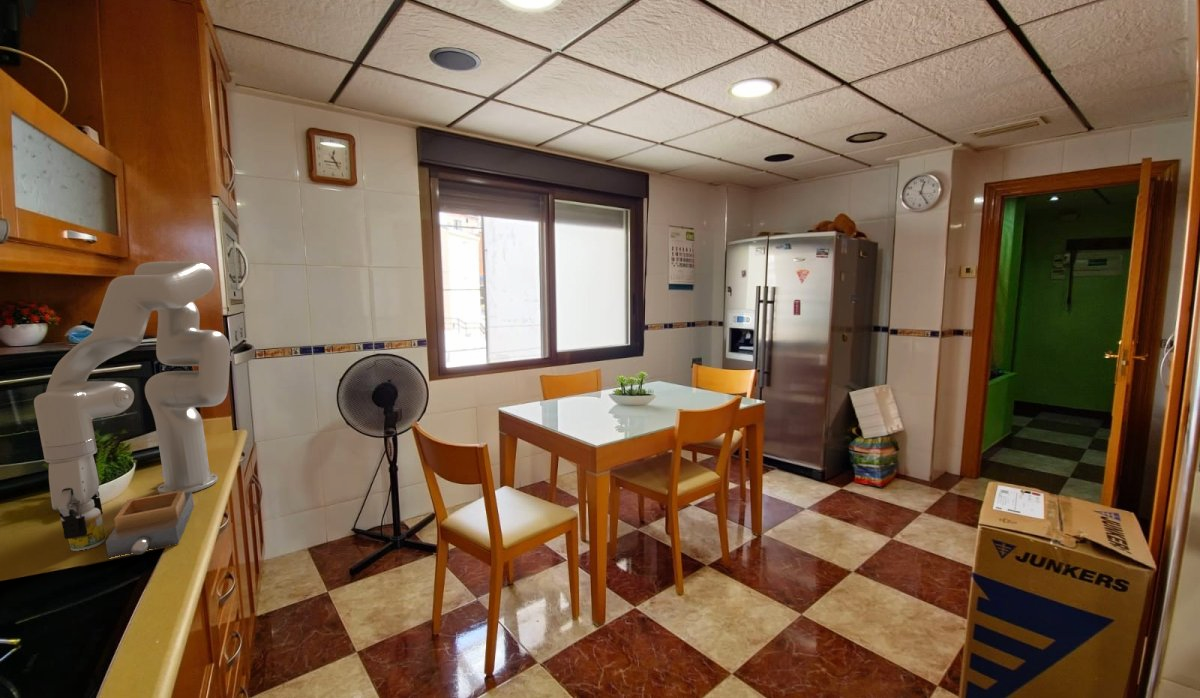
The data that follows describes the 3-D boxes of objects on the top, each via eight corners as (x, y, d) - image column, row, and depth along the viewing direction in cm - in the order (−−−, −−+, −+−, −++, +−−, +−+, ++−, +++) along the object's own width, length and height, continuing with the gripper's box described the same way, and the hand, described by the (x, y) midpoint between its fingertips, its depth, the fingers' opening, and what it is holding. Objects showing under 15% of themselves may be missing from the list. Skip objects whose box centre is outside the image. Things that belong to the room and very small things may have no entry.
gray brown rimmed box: (134, 518, 118) (130, 492, 117) (193, 506, 124) (190, 481, 123) (104, 567, 99) (98, 537, 98) (175, 551, 105) (171, 522, 103)
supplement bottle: (110, 536, 111) (103, 495, 109) (99, 548, 106) (91, 505, 104) (78, 541, 108) (70, 500, 107) (64, 554, 104) (56, 511, 102)
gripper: (61, 440, 109) (75, 513, 112) (25, 467, 94) (42, 550, 97) (108, 434, 113) (120, 505, 116) (80, 459, 98) (95, 539, 101)
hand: (84, 526), depth 106 cm, fingers open, 9 cm apart
